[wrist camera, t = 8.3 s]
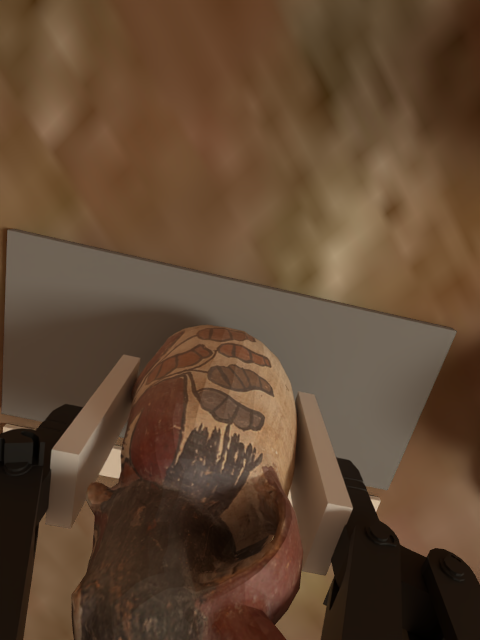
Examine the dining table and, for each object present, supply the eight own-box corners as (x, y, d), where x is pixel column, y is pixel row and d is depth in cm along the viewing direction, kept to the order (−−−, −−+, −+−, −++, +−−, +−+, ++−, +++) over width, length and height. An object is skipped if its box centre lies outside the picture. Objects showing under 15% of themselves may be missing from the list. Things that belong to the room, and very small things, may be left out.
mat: (384, 483, 22) (387, 490, 22) (6, 408, 21) (1, 413, 21) (451, 327, 19) (456, 331, 19) (13, 228, 18) (7, 229, 18)
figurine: (121, 335, 17) (-132, 625, 6) (280, 310, 16) (357, 572, 5) (159, 466, 19) (32, 866, 8) (300, 447, 19) (384, 845, 7)
